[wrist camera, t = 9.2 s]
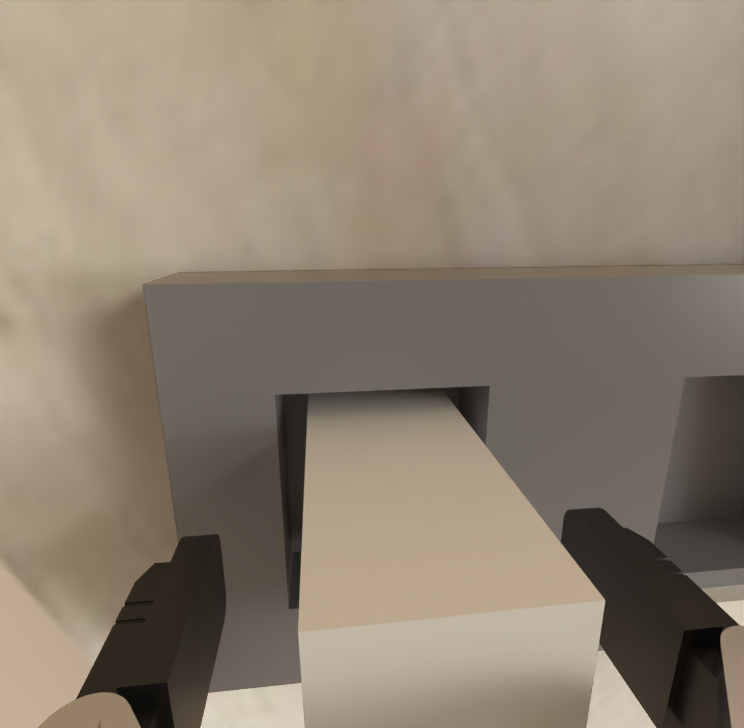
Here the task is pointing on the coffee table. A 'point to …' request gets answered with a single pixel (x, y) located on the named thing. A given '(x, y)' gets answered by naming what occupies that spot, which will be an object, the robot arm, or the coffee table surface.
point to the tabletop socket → (468, 394)
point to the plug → (432, 578)
